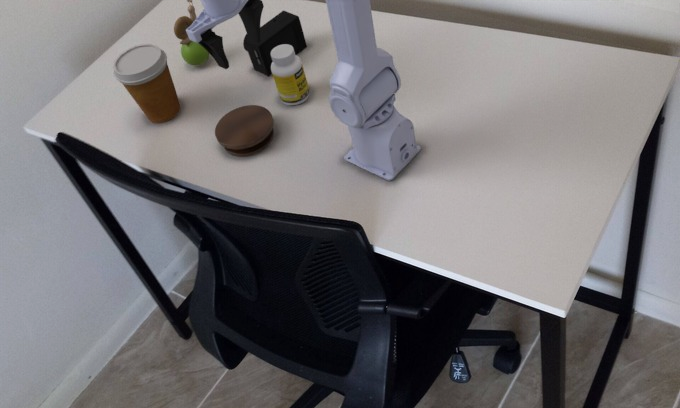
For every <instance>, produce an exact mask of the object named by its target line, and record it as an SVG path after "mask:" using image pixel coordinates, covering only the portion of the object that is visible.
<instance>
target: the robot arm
mask: <svg viewBox="0 0 680 408" xmlns="http://www.w3.org/2000/svg"><path fill="white" fill-rule="evenodd" d="M200 3H201V5H202V7H203V9H202V11H201V12H200V13H199V14H198V15H197V16H196V17H197V18H196V20H195V21H194V22H193V23H192V25H191V26H190V27H188V28H187V29H186V32H187V35H188V37H189V39H190V40H191V41H194V42H196V43H199V44H200V45H201V46H202V47H203V48H205V49H206V50H207V51H208V52H209V56H210V57H212V58H213V61H215V63H216V64H217V66H218V67H220V68H222V69H225V70H228V69H229V68H230V63H229V60H228V58H227V55H226V52H225V48H224V41H223V36H221V35H218V34H216V32H215V31H213V29H214V28H216V27H217V26H218V25H220V24H222V23H224V22H227V21H228V20H230V19H232V18H234V17H236V16H237V15H239V18H240V19H241V21H242V24H243V27H244V29H245V33H246V34H247V35H248V37H249V39H250V41H253V42H256V43H260V42H261V36H260V27H261V19H262V14H263V10H264V8H265V5H264V3H263V1H262V0H200ZM325 4H326V10H327V14H328V18H329V24H330V28H331V32H332V39H333V44H334V48H335V52H336V58H337V63H336V65H335V68H334V70H333V73H332V75H331V77H330V80H329V87H330V93H329V95H328V103H329V107H330V109H331V111H332V113H333V115H334V116H335V118H337V119H338V121H340V122H341V123H342V124H344V125H345V126H347V128H348V132H349V136H350V140H351V144H352V148H351V149H350V150H349V151H348V152H347V153H346V154H345V155H344V156H343V159H344V161H346V162H347V163H349V164H352V165H354V166H356V167H358V168H360V169H363V170H365V171H367V172H368V173H371V174H373V175H376V176H377V177H380V178H382V179H384V180H387V181H388V182H390V181H393V180H394V179H395V177H397V176H398V174H400V172H401V171H402V170H403V169H404V168H405V167H406V166H407V165H408V164H409V163H410V162H411V161H412V160H413V158H415V156H416V155H417V154H419V152H421V146H420V145H418V144H417V141H416V134H415V128H414V127H415V126H414V124H413V121H412V120H411V119H409V118H408V117H405V116H404V115H403V114H401V113H400V111H398V110H397V108H396V107H395V105H394V104H395V102H396V99H397V98H396V93H397V92H398V91H399V90H400V88H401V85H402V80H401V76H400V74H399V71H398V70H397V68H396V65H395V63H394V57H393V55H392V54H390V53H389V52H388V51H386V50H385V49H383V48H380V47H377V40H376V34H375V33H376V32H375V25H374V20H373V14H372V8H371V0H325Z"/></svg>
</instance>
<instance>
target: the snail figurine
mask: <svg viewBox="0 0 680 408" xmlns="http://www.w3.org/2000/svg"><path fill="white" fill-rule="evenodd" d="M186 2H187V3H189V5H188V6H187V12H188V14H189V16H186V15H182V16H179V17H178V18H177V19H176V20H175V22H174V25H173V33H174V36H175V37H176V38H177V39H178V40H180V42H179V44H180V45H181V47H180V54H181V57H182V59H183V60H184V62H185V63H186V64H188V65H191V66H194V67H195V66H196V67H197V66H198V67H199V66H202V65H203V64H205V63H206V62H207V61H208V60H209V57H210V54H209V52H208V51H207V50H206V49H205V48H203V47H202V46H201V45H200V44H199V43H196V42H194V41H191V40H190V39H189V37H188V35H187V32H186V29H187V28H188V27H190V26H191V25H192V23H193V22H194V21H195V20H196V18H197V17H198V16H197V14H196V8H195V6H194V4H193V0H186Z"/></svg>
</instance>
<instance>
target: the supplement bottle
mask: <svg viewBox="0 0 680 408" xmlns="http://www.w3.org/2000/svg"><path fill="white" fill-rule="evenodd" d="M271 58H272V61H273V62H272V64H271V72H272V75H271V76H272V78H273V81H274V84H275V87H276V90H277V93H278V96H279V99H280V101H281V103H282V104H284V105H286V106H296V105H300V104H303V103H304V102H305V101H307V100H308V98H309V97H310V94H311V91H310V87H309V84H308V80H307V76H306V73H305V70H304V66H303V62H302V59H301V58H300V57H299V56H298V54H297V55H295V52H294V48H293V47H292V46H291V45H289V44H282V45H279V46H276V47H275V48H273V49H272V51H271Z"/></svg>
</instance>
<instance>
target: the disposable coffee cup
mask: <svg viewBox="0 0 680 408" xmlns="http://www.w3.org/2000/svg"><path fill="white" fill-rule="evenodd" d="M112 68H113V76H114V78H115V79H116V81H118V82H119V83H121V84H122V85H123V87H124V88H125V89H126V91H127V92H128V94H129V95H130V96H131V98H132V99H133V100H134V102H135V103H136V104H137V106H138V107H139V108H140V110H141V112H143V114H144V115H145V116H146V118H147V119H148V120H149V121H150V122H151V123H154V124H163V123H166V122H168V121H171V120H172V119H174V118H175V117H176V116H177V115H179V113H180V111H181V108H182V107H181V103H180V99H179V96H178V93H177V89H176V87H175V84H174V81H173V78H172V75H171V71H170V68H169V65H168V56H167V53H166V51H165V50H163V49H162V48H161V47H160V46H159V45H157V44H154V43H141V44H137V45H133V46H131V47H129V48H128V49H126V50H124V51H122V52H121V53H120V54H119V55H118V56H117V57H116V58H115V60H114V62H113V67H112Z"/></svg>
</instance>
